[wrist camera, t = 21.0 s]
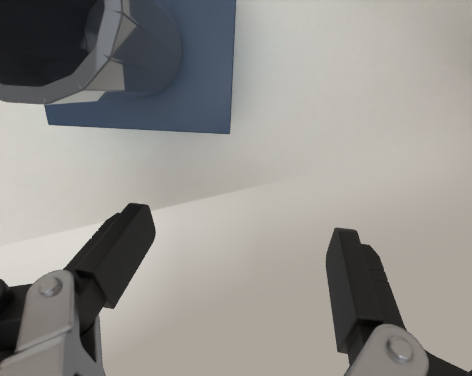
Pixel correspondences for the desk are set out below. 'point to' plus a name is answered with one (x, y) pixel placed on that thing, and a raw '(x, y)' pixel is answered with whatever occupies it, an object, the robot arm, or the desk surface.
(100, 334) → the robot arm
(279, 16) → the desk surface
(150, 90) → the cup
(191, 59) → the container
